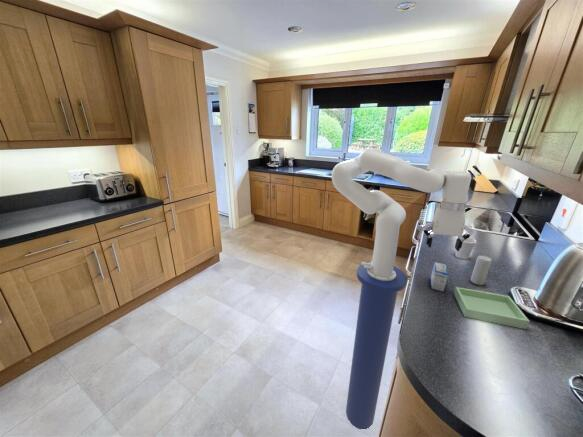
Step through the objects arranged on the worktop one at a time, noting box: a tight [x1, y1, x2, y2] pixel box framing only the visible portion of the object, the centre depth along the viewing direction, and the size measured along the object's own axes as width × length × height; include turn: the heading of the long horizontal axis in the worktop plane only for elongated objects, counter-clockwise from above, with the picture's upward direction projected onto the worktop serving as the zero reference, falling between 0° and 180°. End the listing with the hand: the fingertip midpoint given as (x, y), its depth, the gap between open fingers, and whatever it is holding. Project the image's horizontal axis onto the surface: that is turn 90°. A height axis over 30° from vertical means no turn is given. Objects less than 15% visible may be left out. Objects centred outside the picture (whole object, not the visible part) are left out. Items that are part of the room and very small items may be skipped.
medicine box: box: [430, 262, 449, 292], centre depth 101 cm, size 8×4×9 cm, turn 154°
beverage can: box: [470, 255, 492, 286], centre depth 102 cm, size 5×5×12 cm
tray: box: [453, 286, 530, 330], centre depth 88 cm, size 18×14×3 cm
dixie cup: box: [455, 236, 477, 260], centre depth 125 cm, size 8×8×10 cm
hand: (442, 247), depth 95 cm, fingers open, 9 cm apart
